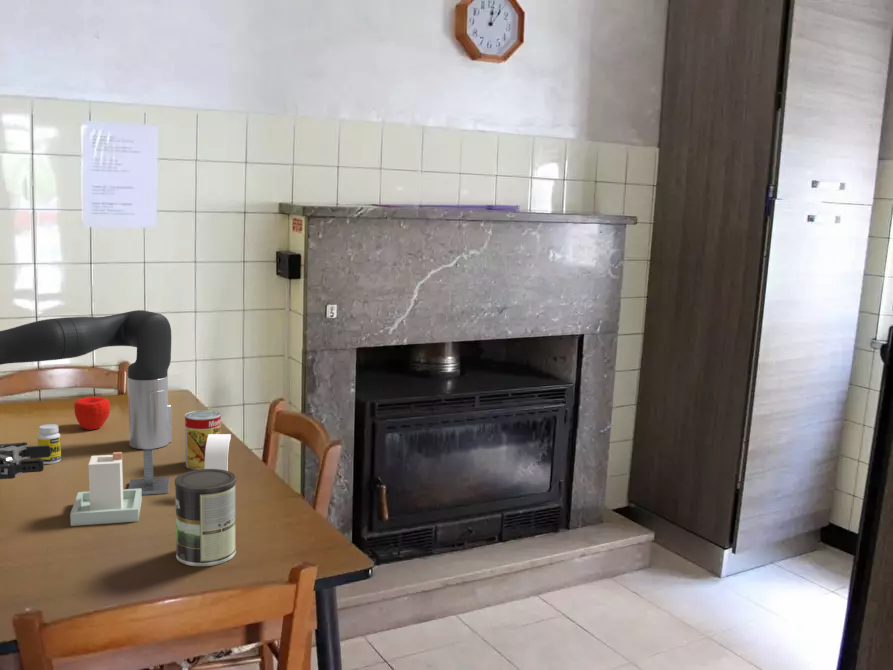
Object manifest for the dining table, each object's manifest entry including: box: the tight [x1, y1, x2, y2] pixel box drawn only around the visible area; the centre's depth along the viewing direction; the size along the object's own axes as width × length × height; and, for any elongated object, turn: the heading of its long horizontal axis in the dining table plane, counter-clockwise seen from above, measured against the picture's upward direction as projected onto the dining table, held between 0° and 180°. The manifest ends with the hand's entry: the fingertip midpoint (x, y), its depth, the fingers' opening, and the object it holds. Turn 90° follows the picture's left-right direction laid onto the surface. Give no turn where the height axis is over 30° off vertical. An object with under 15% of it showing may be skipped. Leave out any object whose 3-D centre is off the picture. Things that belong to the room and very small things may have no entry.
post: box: [127, 449, 170, 496], centre depth 183 cm, size 8×8×8 cm
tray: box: [69, 488, 143, 527], centre depth 170 cm, size 12×12×2 cm
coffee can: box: [174, 469, 237, 568], centre depth 151 cm, size 10×10×14 cm
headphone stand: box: [205, 433, 232, 471], centre depth 182 cm, size 5×6×12 cm
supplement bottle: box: [37, 423, 62, 465], centre depth 198 cm, size 5×5×8 cm
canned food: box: [184, 409, 222, 471], centre depth 199 cm, size 8×8×12 cm
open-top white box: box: [87, 451, 124, 511], centre depth 169 cm, size 6×6×11 cm
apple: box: [73, 396, 111, 431], centre depth 226 cm, size 9×9×8 cm
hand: (47, 457), depth 165 cm, fingers open, 8 cm apart
